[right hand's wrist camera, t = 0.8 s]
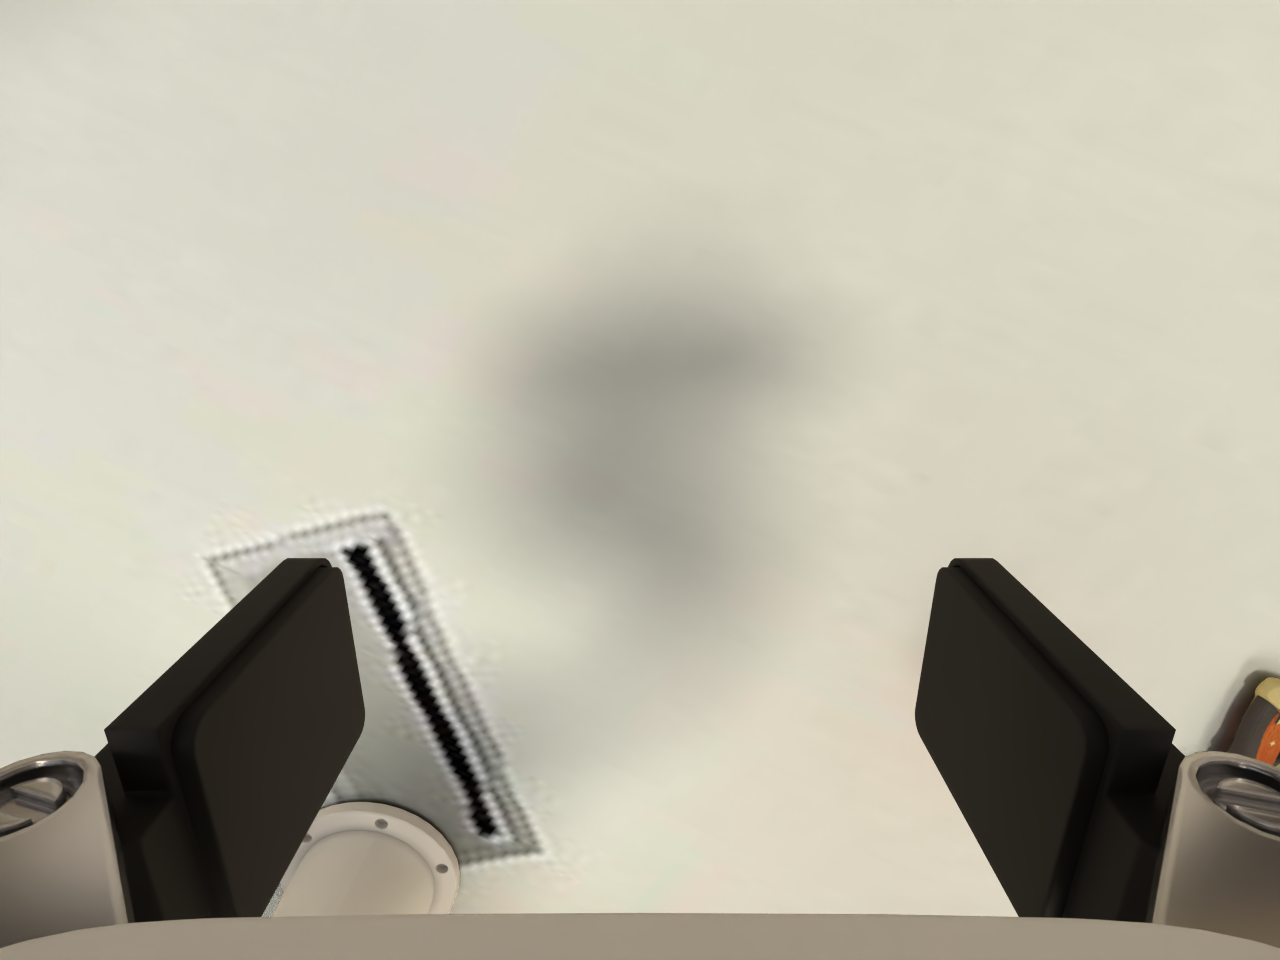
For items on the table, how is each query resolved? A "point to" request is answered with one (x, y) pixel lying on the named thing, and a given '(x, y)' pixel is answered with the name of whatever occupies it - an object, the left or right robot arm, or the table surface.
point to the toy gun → (1261, 725)
